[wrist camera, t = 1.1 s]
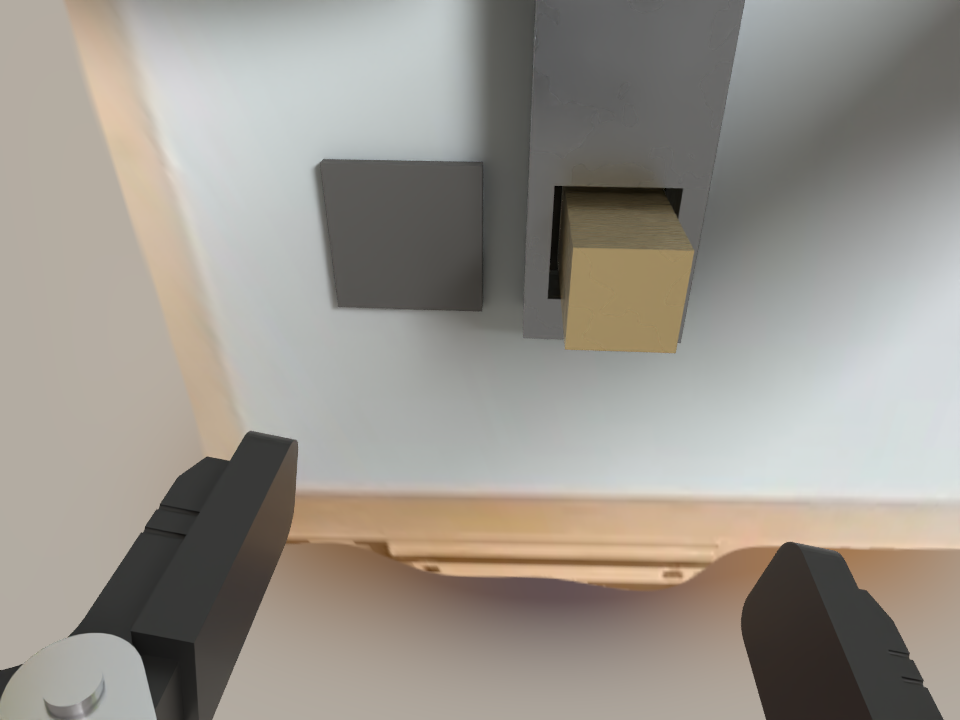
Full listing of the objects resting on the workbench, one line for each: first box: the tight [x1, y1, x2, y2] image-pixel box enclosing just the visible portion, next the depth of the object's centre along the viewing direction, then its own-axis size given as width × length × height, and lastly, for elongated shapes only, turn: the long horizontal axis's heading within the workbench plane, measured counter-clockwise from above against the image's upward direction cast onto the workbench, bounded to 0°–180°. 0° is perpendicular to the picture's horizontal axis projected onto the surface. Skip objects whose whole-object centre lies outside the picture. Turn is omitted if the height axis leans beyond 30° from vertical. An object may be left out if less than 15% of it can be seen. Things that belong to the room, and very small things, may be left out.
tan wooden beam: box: [557, 186, 694, 353], centre depth 27 cm, size 4×4×8 cm
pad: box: [320, 159, 483, 311], centre depth 31 cm, size 7×7×1 cm
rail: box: [523, 0, 745, 343], centre depth 26 cm, size 7×21×3 cm, turn 0°
